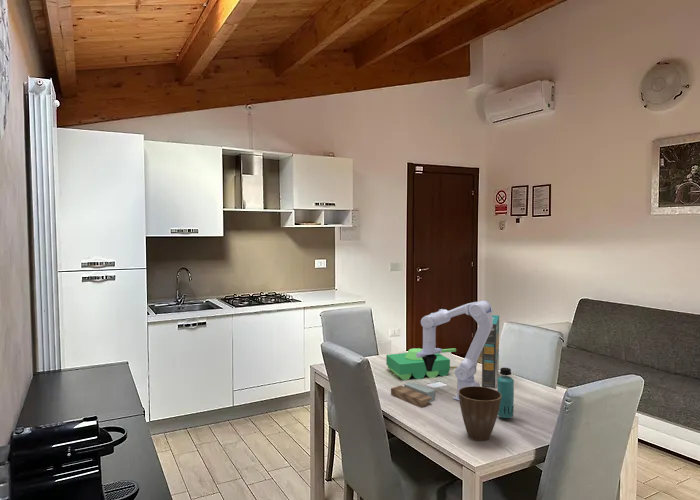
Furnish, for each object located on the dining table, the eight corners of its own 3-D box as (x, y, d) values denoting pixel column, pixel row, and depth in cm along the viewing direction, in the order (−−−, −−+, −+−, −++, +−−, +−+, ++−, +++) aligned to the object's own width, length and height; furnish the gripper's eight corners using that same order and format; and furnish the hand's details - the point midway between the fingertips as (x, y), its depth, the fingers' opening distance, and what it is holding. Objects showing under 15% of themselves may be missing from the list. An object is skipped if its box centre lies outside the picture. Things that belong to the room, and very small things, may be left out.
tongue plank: (435, 400, 215) (435, 390, 214) (424, 403, 211) (424, 393, 211) (412, 391, 226) (412, 381, 226) (401, 394, 222) (401, 384, 222)
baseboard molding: (437, 369, 260) (460, 369, 259) (437, 364, 259) (460, 364, 259) (429, 353, 291) (449, 353, 290) (429, 348, 290) (449, 348, 290)
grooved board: (431, 404, 209) (431, 397, 209) (421, 407, 206) (421, 400, 206) (400, 391, 224) (400, 385, 224) (390, 394, 221) (390, 388, 221)
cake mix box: (486, 373, 251) (486, 314, 250) (498, 374, 249) (499, 315, 247) (481, 386, 231) (482, 323, 229) (495, 388, 229) (496, 324, 227)
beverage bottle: (502, 422, 190) (503, 371, 189) (493, 416, 197) (493, 366, 195) (517, 420, 192) (518, 370, 191) (507, 414, 198) (508, 365, 197)
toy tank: (463, 350, 249) (399, 356, 239) (463, 374, 250) (399, 381, 240) (446, 342, 266) (386, 347, 256) (446, 364, 267) (386, 370, 257)
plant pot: (480, 424, 189) (480, 383, 188) (509, 439, 176) (510, 395, 174) (449, 432, 182) (449, 390, 181) (478, 449, 168) (478, 403, 167)
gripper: (433, 337, 232) (433, 365, 233) (411, 342, 223) (411, 371, 224) (445, 340, 226) (444, 369, 227) (422, 345, 217) (422, 375, 218)
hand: (429, 370), depth 225 cm, fingers closed
